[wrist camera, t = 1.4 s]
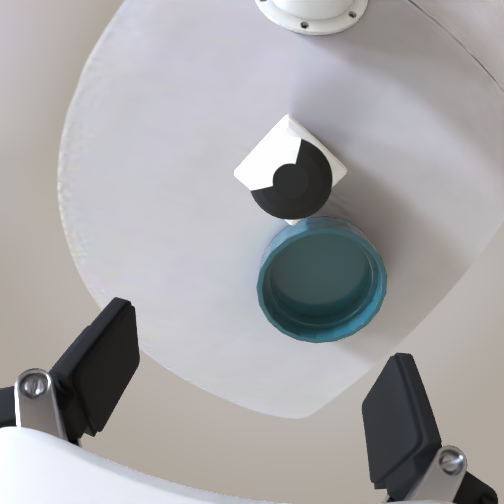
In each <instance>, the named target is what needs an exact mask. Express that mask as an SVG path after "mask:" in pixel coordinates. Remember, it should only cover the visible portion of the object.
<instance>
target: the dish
mask: <svg viewBox="0 0 504 504" xmlns="http://www.w3.org/2000/svg"><path fill="white" fill-rule="evenodd" d="M386 284H387V274H386V271H385V268H384V264H383V261H382V258H381V256H380V255H379V253H378V252H377V250H376V249H375V247H374V245H373V244H372V243H371V241H370V240H369V239H368V238H367V236H366V235H365V234H364V233H363V231H361V230H360V229H358V228H357V227H355V226H353V225H352V224H350V223H349V222H347V221H345V220H340V219H336V218H331V217H326V216H325V217H315V218H306V219H304V220H301V221H299V222H297V223H296V224H295V225H294V226H292V225H290V226H288V227H286V228H285V229H284V230H283V231H281V232H280V233H279V234H278V235H277V236H276V237H275V238H273V240H272V241H271V243H270V245H269V246H268V248H267V250H266V251H265V253H264V255H263V259H262V263H261V267H260V272H259V277H258V283H257V294H258V300H259V305H260V307H261V309H262V311H263V313H264V314H265V316H266V318H267V320H268V321H269V322H270V323H271V324H272V325H273V326H275V327H276V328H277V329H278V330H279V331H280V332H282V333H283V334H286V335H288V336H290V337H292V338H294V339H296V340H300V341H306V342H312V343H322V342H333V341H337V340H340V339H342V338H345V337H348V336H351V335H353V334H354V333H356V332H357V331H359V330H360V329H362V328H363V327H365V326H366V325H367V324H368V323H369V322H370V321H371V320H372V318H373V317H374V316H375V315H376V314H377V312H378V311H379V309H380V307H381V304H382V302H383V299H384V297H385V294H386Z"/></svg>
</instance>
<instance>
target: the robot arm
mask: <svg viewBox="0 0 504 504" xmlns="http://www.w3.org/2000/svg"><path fill="white" fill-rule="evenodd" d="M255 1H256V3H257V5H258V6H259V8H260V10H261V11H262V12H263V13H264V14H265V15H266V16H267V17H268V18H269V19H271V20H272V21H273V22H274V23H276V24H278V25H280V26H282V27H283V28H286V29H288V30H291V31H294V32H298V33H302V34H308V35H328V34H333V33H337V32H340V31H343V30H345V29H347V28H349V27H350V26H352V25H353V24H355V23H356V22H357V21H358V20H359V19H360V18H361V16H362V15H363V13H364V12H365V9H366V7H367V4H368V0H265V2H262V1H263V0H255ZM350 16H353V18H352V17H350ZM303 26H306V27H307V28H306V29H304V28H302V27H303ZM139 361H140V356H139V347H138V337H137V327H136V314H135V307H134V306H132V305H131V302H130V301H128V300H124V299H121V298H117V297H115V298H114V299H113V300H112V301H111V302H110V303H109V304H108V305H107V306H106V307H105V309H104V310H103V311H102V312H101V313H100V314H99V316H98V317H97V318H96V319H95V320H94V321H93V322H92V324H91V325H89V326H87V327H86V328H85V329H84V330H83V332H82V333H81V334H80V335H79V336H78V337H77V338H76V340H75V341H74V342H73V343H72V344H71V345H70V347H69V348H68V349H67V350H66V352H65V353H64V354H63V355H62V356H61V358H60V359H59V360H58V361H57V363H56V364H55V365H54V366H53V367H52V369H51V370H50V371H49V372H46V371H45V370H42V369H39V368H36V369H35V368H34V369H33V368H32V369H29V370H26V371H24V372H23V373H21V374H20V375H19V377H18V378H17V380H16V383H15V386H11V387H6V388H0V504H292V503H281V502H271V501H262V500H255V499H248V498H241V497H235V496H230V495H224V494H219V493H215V492H210V491H205V490H201V489H197V488H193V487H189V486H185V485H181V484H178V483H174V482H171V481H167V480H164V479H161V478H157V477H154V476H151V475H148V474H145V473H142V472H140V471H137V470H134V469H132V468H129V467H126V466H124V465H121V464H118V463H116V462H113V461H111V460H108V459H106V458H103V457H101V456H99V455H96V454H94V453H92V452H90V451H87V450H85V449H83V448H82V444H81V441H80V438H81V437H82V435H83V433H86V434H88V435H90V436H93V437H94V436H95V435H96V433H97V431H98V432H101V431H102V430H103V428H104V426H105V424H106V423H107V421H108V419H109V417H110V415H111V413H112V412H113V410H114V408H115V406H116V405H117V403H118V401H119V399H120V397H121V395H122V394H123V392H124V390H125V388H126V387H127V385H128V383H129V381H130V380H131V378H132V376H133V374H134V373H135V371H136V369H137V367H138V365H139ZM362 415H363V421H364V428H365V436H366V443H367V453H368V461H369V471H370V480H371V482H372V483H374V486H375V489H387V493H388V495H387V496H386V497H385V499H384V500H383V501H382V503H377V504H498V498H497V494H496V493H495V491H494V490H493V489H492V488H491V487H489V486H488V485H486V484H485V483H483V482H482V481H480V480H479V479H477V478H476V477H475V476H473V475H472V474H470V473H469V472H467V471H466V469H467V459H466V456H465V455H464V453H463V452H462V451H461V450H460V449H459V448H457V447H455V446H451V445H447V446H443V447H442V445H441V442H442V441H441V438H440V434H439V431H438V428H437V424H436V421H435V418H434V415H433V412H432V409H431V406H430V403H429V400H428V397H427V394H426V391H425V388H424V385H423V383H422V380H421V377H420V375H419V372H418V369H417V367H416V364H415V361H414V359H413V356H412V355H411V354H406V353H396V354H395V355H394V356H391V357H390V358H389V360H388V361H387V364H386V365H385V367H384V368H383V370H382V372H381V374H380V375H379V377H378V379H377V380H376V382H375V384H374V385H373V387H372V388H371V390H370V392H369V393H368V395H367V397H366V398H365V400H364V402H363V404H362Z"/></svg>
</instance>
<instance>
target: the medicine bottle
mask: <svg viewBox="0 0 504 504" xmlns="http://www.w3.org/2000/svg"><path fill="white" fill-rule="evenodd" d="M346 173H347V169H346V167H345V166H344V165H343V164H342V163H341V162H340V161H339V160H338V159H337V158H336V157H335V156H334V155H333V154H332V153H331V152H330V151H329V150H328V149H326V148H325V147H324V146H323V145H322V144H321V143H320V142H319V141H318V140H317V139H316V138H315V137H314V136H313V135H312V134H310V133H309V132H308V131H307V130H306V129H305V128H304V127H303V126H302V125H301V124H299V123H298V122H297V121H296V120H295V119H294V118H293V117H291V116H290V115H286V116H284V117H283V118H282V119H281V120H280V122H279V123H278V124H277V125H276V126H275V127H274V128H273V129H272V130H271V131H270V132H269V133H268V134H267V136H266V137H265V138H264V139H263V140H262V141H261V142H260V143H259V144H258V145H257V147H256V148H255V149H254V150H253V151H252V152H251V153H250V154H249V155H248V157H247V158H246V159H245V160H244V161H243V162H242V163H241V164H240V166H239V167H238V168H237V169H236V170H235V172H234V175H235V176H236V177H237V178H238V179H239V180H240V181H241V182H242V183H244V184H245V185H246V186H247V187H248V188H249V189H250V191H251V193H252V196H253V198H254V199H255V201H256V202H257V204H258V205H259V206H260V207H261V208H262V209H263V210H264V211H266V212H267V213H269V214H270V215H272V216H275V217H277V218H281V219H284V220H285V221H286V222H288V223H289V224H290V225H292V226H294V225H295V224H296V223H297V222H298V221H299V220H300V219H302V218H305V217H308V216H310V215H312V214H314V213H315V212H317V211H318V210H319V209H320V208H321V207H322V206H323V205H324V204H325V202H326V201H327V199H328V197H329V195H330V192H331V189H332V187H333V186H334V185H335V184H336V183H337V182H338V181H339V180H340V179H341V178H342V177H343V176H344V175H345V174H346Z"/></svg>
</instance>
